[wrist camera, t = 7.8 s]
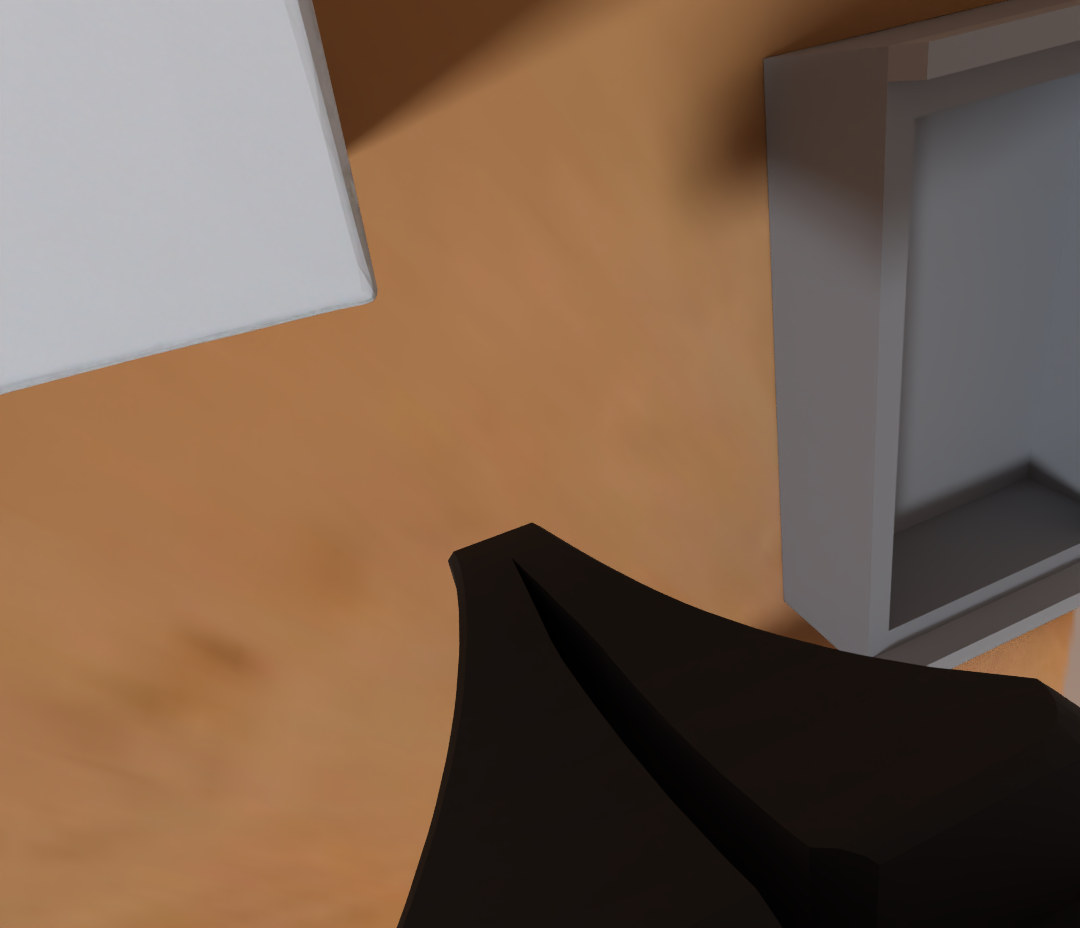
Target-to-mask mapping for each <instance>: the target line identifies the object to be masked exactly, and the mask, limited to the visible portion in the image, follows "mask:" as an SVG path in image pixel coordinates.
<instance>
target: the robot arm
mask: <svg viewBox="0 0 1080 928" xmlns="http://www.w3.org/2000/svg"><path fill="white" fill-rule="evenodd" d="M448 562H449V566H450V569H451V572H452V575H453V579H454V582H455V585H456V588H457V595H458V606H459V642H460V644H459V664H458V678H457V691H456V701H455V709H454V717H453V723H452V730H451V736H450V741H449V747H448V753H447V758H446V763H445V767H444V772H443V776H442V780H441V785H440V789H439V794H438V798H437V802H436V806H435V810H434V814H433V818H432V821H431V825H430V829H429V832H428V836H427V839H426V842H425V845H424V848H423V851H422V854H421V857H420V861H419V864H418V867H417V870H416V873H415V876H414V879H413V882H412V886H411V889H410V892H409V895H408V898H407V901H406V904H405V907H404V909H403V912H402V915H401V918H400V921H399V923H398V926H397V928H1080V707H1078V706H1077V705H1076V704H1074V703H1073V702H1071V701H1069V700H1068V699H1067V698H1065V697H1064V696H1062V695H1061V694H1059V693H1058V692H1056V691H1055V690H1054V689H1052V688H1050V687H1049V686H1047V685H1045V684H1044V683H1042V682H1041V681H1039V680H1038V679H1035V678H1026V677H1017V676H1008V675H999V674H990V673H981V672H972V671H963V670H953V669H944V668H935V667H929V666H922V665H916V664H910V663H904V662H899V661H893V660H887V659H881V658H875V657H870V656H865V655H860V654H855V653H850V652H845V651H841V650H836V649H831V648H827V647H823V646H819V645H815V644H811V643H807V642H803V641H799V640H795V639H792V638H788V637H784V636H780V635H776V634H773V633H769V632H766V631H763V630H759V629H756V628H753V627H750V626H747V625H744V624H741V623H738V622H735V621H732V620H729V619H726V618H723V617H720V616H717V615H715V614H712V613H709V612H706V611H703V610H701V609H698V608H696V607H693V606H691V605H688V604H686V603H683V602H681V601H679V600H676V599H674V598H672V597H670V596H667V595H665V594H663V593H660V592H658V591H656V590H654V589H652V588H650V587H648V586H646V585H644V584H641V583H639V582H637V581H635V580H634V579H632V578H630V577H628V576H626V575H624V574H622V573H620V572H618V571H616V570H614V569H612V568H610V567H609V566H607V565H605V564H603V563H601V562H599V561H598V560H596V559H594V558H592V557H590V556H589V555H587V554H585V553H583V552H582V551H580V550H578V549H577V548H575V547H573V546H571V545H570V544H568V543H566V542H565V541H563V540H561V539H560V538H558V537H556V536H555V535H553V534H552V533H550V532H548V531H547V530H545V529H543V528H542V527H540V526H538V525H536V524H534V523H530V524H527V525H524V526H521V527H519V528H516V529H513V530H511V531H508V532H505V533H503V534H500V535H497V536H494V537H492V538H489V539H486V540H484V541H481V542H478V543H476V544H473V545H470V546H467V547H465V548H462V549H459V550H457V551H454V552H453V554H452V555H451V557H450V558H449V560H448Z"/></svg>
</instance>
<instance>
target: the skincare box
mask: <svg viewBox="0 0 1080 928" xmlns="http://www.w3.org/2000/svg"><path fill="white" fill-rule="evenodd" d="M376 296H377V286H376V281H375V276H374V272H373V267H372V263H371V258H370V254H369V249H368V245H367V240H366V235H365V231H364V226H363V222H362V217H361V213H360V208H359V204H358V199H357V195H356V190H355V186H354V181H353V176H352V172H351V167H350V163H349V159H348V154H347V150H346V145H345V141H344V137H343V132H342V128H341V124H340V119H339V115H338V110H337V106H336V102H335V97H334V93H333V88H332V84H331V80H330V75H329V71H328V67H327V62H326V58H325V53H324V49H323V45H322V41H321V36H320V32H319V28H318V23H317V19H316V15H315V10H314V6H313V2H312V0H0V394H4V393H8V392H12V391H15V390H19V389H23V388H27V387H31V386H34V385H38V384H42V383H46V382H50V381H53V380H57V379H61V378H65V377H69V376H72V375H76V374H80V373H84V372H88V371H91V370H95V369H99V368H103V367H107V366H111V365H114V364H118V363H122V362H126V361H130V360H134V359H138V358H142V357H146V356H150V355H154V354H158V353H162V352H166V351H171V350H175V349H179V348H183V347H187V346H191V345H195V344H199V343H204V342H208V341H212V340H216V339H220V338H224V337H229V336H233V335H237V334H241V333H245V332H249V331H253V330H257V329H261V328H265V327H269V326H273V325H277V324H281V323H285V322H289V321H293V320H297V319H301V318H306V317H310V316H314V315H318V314H322V313H326V312H331V311H335V310H339V309H343V308H348V307H353V306H358V305H363V304H367V303H370V302H372V301H374V300H375V298H376Z"/></svg>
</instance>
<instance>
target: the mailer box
mask: <svg viewBox="0 0 1080 928" xmlns="http://www.w3.org/2000/svg"><path fill="white" fill-rule="evenodd" d="M763 62H764V88H765V114H766V140H767V167H768V193H769V219H770V246H771V272H772V298H773V324H774V351H775V377H776V403H777V429H778V456H779V482H780V508H781V534H782V561H783V587H784V602H786V603H787V604H788V605H789V606H790V607H791V608H792V609H793V610H795V611H796V612H797V613H798V614H799V615H800V616H801V617H802V618H804V619H805V620H806V621H807V622H808V623H809V624H810V625H811V626H812V627H814V628H815V629H816V630H817V631H818V632H819V633H820V634H821V635H823V636H824V637H825V638H826V639H827V640H828V641H829V642H830V643H832V644H833V645H834V646H835V647H836V648H837V649H838V650H841V651H845V652H850V653H855V654H860V655H865V656H870V657H875V658H881V659H887V660H893V661H899V662H904V663H910V664H916V665H922V666H929V667H935V668H944V669H952V668H954V667H956V666H958V665H960V664H962V663H964V662H966V661H968V660H970V659H972V658H974V657H976V656H978V655H981V654H983V653H985V652H987V651H989V650H991V649H993V648H995V647H997V646H999V645H1001V644H1003V643H1005V642H1007V641H1010V640H1012V639H1014V638H1016V637H1018V636H1020V635H1022V634H1024V633H1026V632H1028V631H1030V630H1032V629H1034V628H1037V627H1039V626H1041V625H1043V624H1045V623H1047V622H1049V621H1051V620H1053V619H1055V618H1057V617H1059V616H1061V615H1063V614H1066V613H1068V612H1070V611H1072V610H1074V609H1076V608H1078V607H1080V0H1007V1H1003V2H999V3H995V4H990V5H986V6H982V7H978V8H974V9H969V10H965V11H961V12H957V13H953V14H948V15H944V16H940V17H936V18H932V19H928V20H923V21H919V22H915V23H911V24H907V25H902V26H898V27H894V28H890V29H886V30H881V31H877V32H873V33H869V34H865V35H860V36H856V37H852V38H848V39H844V40H839V41H835V42H831V43H827V44H823V45H819V46H814V47H810V48H806V49H802V50H798V51H793V52H789V53H785V54H781V55H777V56H772V57H768V58H764V59H763Z"/></svg>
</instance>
